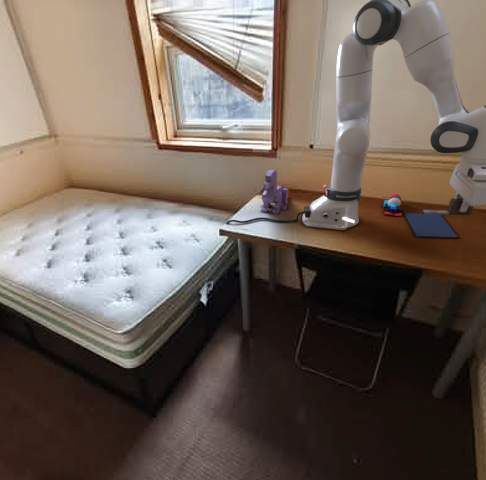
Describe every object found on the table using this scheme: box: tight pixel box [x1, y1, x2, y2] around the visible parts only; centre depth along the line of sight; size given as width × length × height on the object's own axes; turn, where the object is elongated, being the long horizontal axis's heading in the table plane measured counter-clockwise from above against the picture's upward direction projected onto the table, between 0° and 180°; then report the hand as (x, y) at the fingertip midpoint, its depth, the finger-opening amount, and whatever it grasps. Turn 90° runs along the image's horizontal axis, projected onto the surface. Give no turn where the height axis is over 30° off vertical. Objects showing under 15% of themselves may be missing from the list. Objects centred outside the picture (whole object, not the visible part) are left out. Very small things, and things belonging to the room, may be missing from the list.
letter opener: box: [423, 197, 474, 216], centre depth 107 cm, size 13×3×5 cm, turn 76°
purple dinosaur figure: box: [260, 169, 290, 215], centre depth 149 cm, size 12×25×19 cm, turn 149°
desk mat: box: [404, 212, 459, 239], centre depth 126 cm, size 13×20×1 cm, turn 166°
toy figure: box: [383, 193, 405, 217], centre depth 140 cm, size 8×5×15 cm
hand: (459, 208), depth 106 cm, fingers closed on letter opener, 2 cm apart
